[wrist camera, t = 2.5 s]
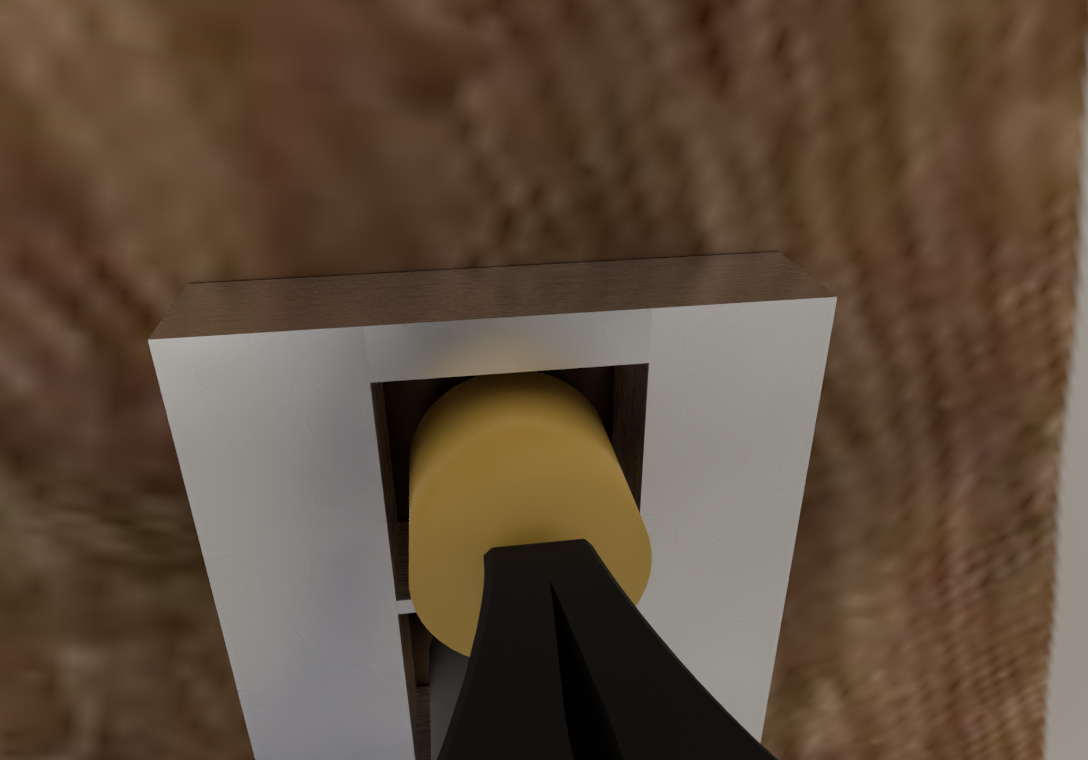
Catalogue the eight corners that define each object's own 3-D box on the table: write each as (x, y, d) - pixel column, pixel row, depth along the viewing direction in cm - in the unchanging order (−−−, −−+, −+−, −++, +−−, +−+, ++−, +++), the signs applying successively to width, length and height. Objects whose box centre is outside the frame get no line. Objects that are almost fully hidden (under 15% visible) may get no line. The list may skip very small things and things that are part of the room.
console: (705, 801, 21) (735, 885, 19) (315, 856, 20) (304, 953, 18) (779, 251, 14) (837, 296, 12) (187, 283, 13) (147, 339, 11)
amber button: (604, 528, 15) (645, 651, 12) (417, 546, 14) (418, 677, 12) (609, 362, 13) (658, 462, 11) (400, 377, 13) (397, 484, 10)
